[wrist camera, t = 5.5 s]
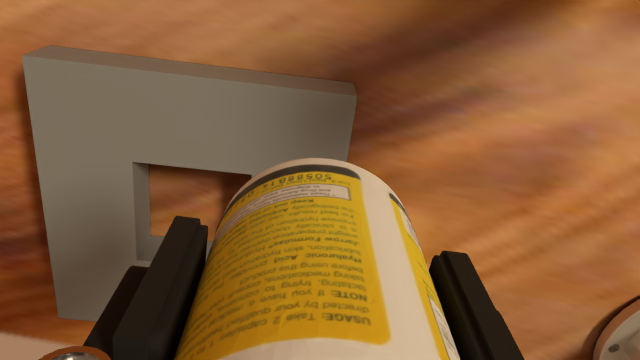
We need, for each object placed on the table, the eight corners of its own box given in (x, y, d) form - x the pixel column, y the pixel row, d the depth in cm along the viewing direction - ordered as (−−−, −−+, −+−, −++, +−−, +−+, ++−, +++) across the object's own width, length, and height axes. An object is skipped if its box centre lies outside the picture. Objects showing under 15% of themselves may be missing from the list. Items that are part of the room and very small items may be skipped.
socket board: (353, 82, 29) (357, 96, 26) (316, 311, 37) (317, 340, 34) (50, 45, 28) (21, 55, 25) (77, 290, 35) (58, 318, 33)
